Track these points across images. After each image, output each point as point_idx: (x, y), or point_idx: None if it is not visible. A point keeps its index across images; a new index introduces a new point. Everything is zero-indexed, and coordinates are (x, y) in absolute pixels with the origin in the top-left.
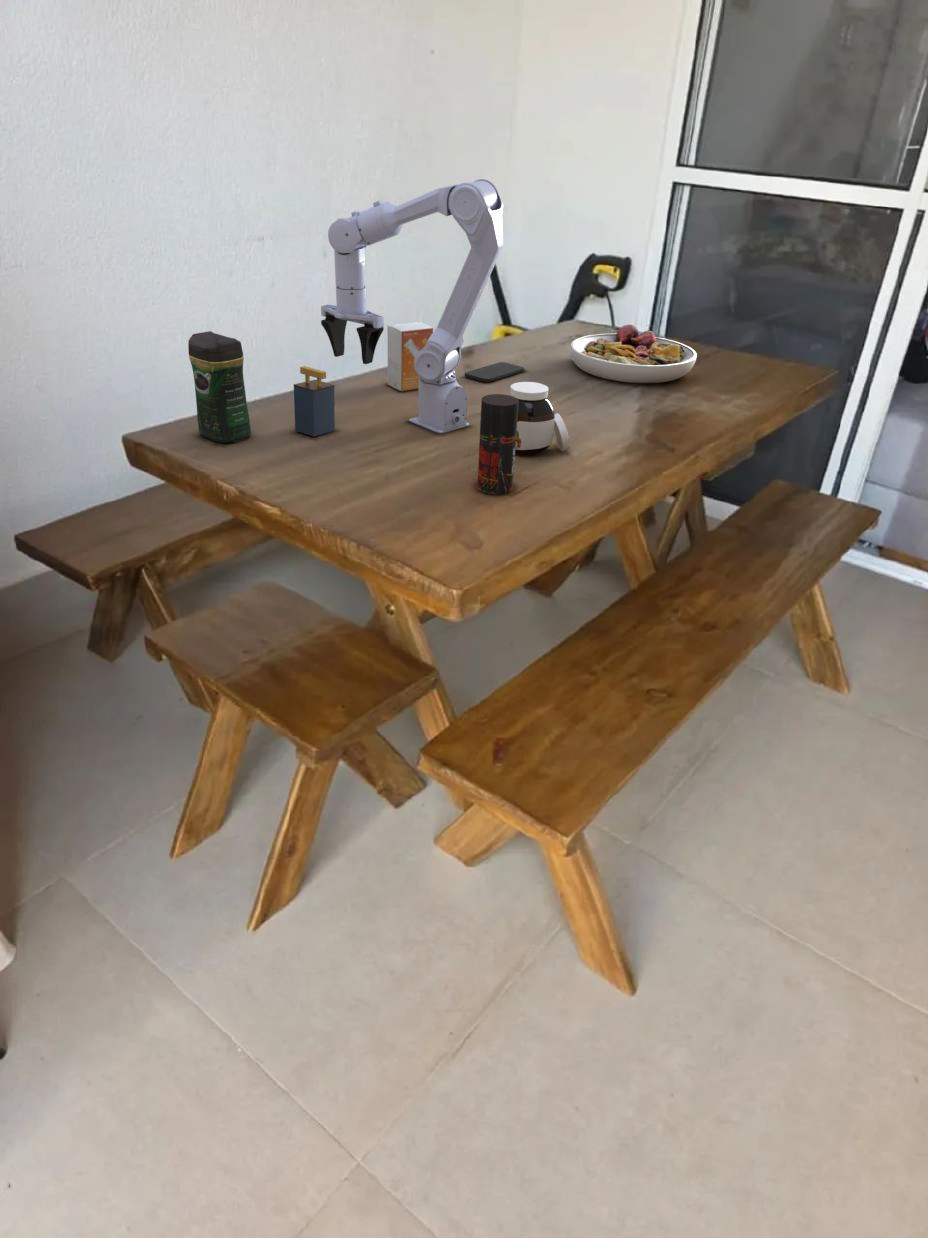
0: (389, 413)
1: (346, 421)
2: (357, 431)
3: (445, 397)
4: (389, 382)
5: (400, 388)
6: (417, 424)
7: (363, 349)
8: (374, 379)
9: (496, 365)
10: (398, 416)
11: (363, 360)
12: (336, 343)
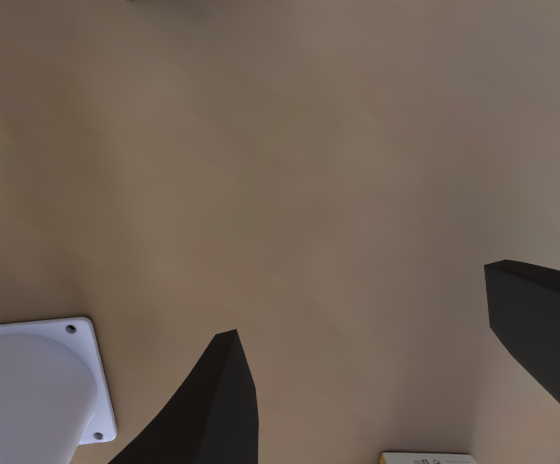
0: (213, 309)
1: (219, 122)
2: (84, 90)
3: None
4: (463, 461)
5: (388, 458)
6: (34, 321)
7: (192, 390)
8: (543, 446)
9: None
10: (166, 318)
11: (221, 339)
12: (552, 316)
